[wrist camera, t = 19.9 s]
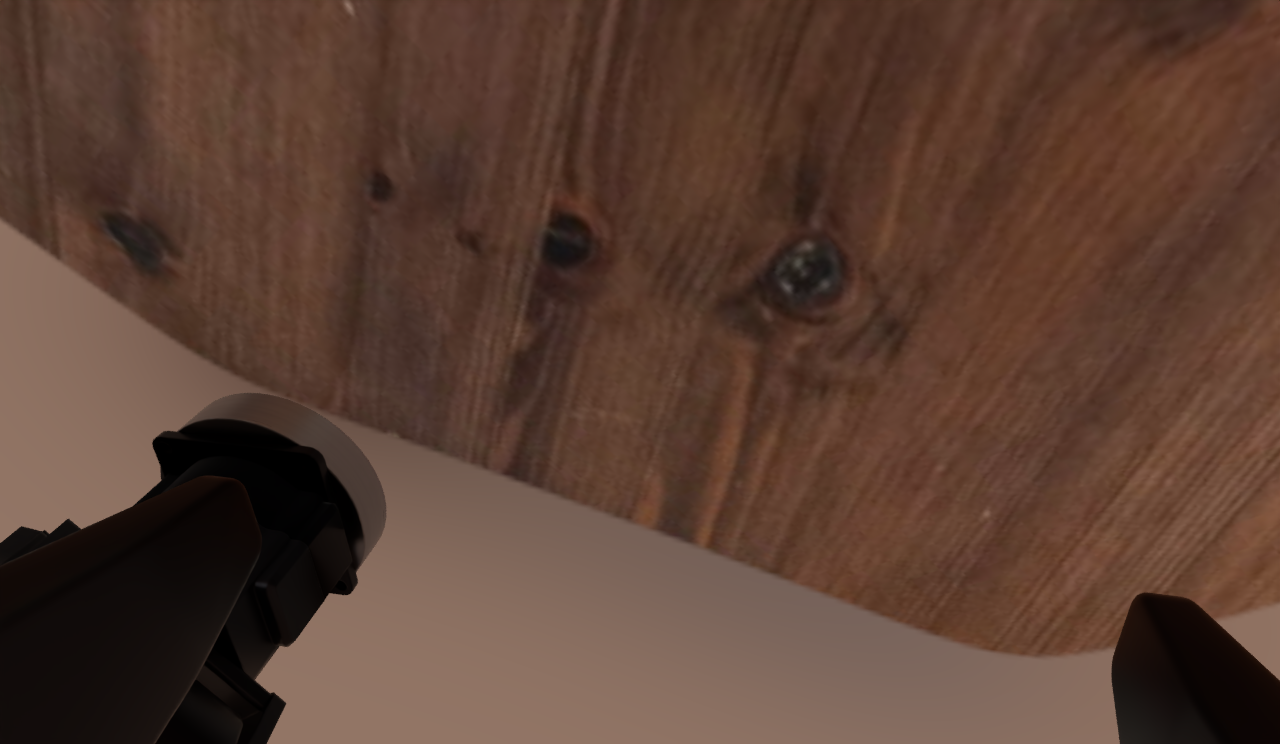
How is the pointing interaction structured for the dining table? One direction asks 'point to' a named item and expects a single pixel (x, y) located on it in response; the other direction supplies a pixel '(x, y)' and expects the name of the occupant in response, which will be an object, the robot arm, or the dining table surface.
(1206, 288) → the dining table surface
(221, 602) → the robot arm
